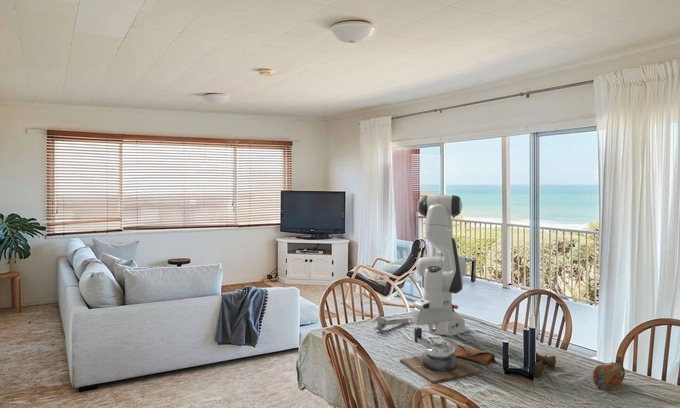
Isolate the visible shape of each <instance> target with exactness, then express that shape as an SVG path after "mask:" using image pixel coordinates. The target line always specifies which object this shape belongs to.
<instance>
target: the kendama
mask: <svg viewBox="0 0 680 408" xmlns="http://www.w3.org/2000/svg"><path fill="white" fill-rule="evenodd" d="M556 364H557V358H556V356H555V355H551V356H548V354H545V355H541V354H539V353H538V352H536V362H535V377H536V378H541V377H542V376H543V372H544V370H545V366H546V367H548V368H550V369H551V370H555V368H556Z"/></svg>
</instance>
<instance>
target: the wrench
mask: <svg viewBox="0 0 680 408" xmlns="http://www.w3.org/2000/svg"><path fill="white" fill-rule="evenodd" d="M371 322H372V323H375V322H377V324H376V325H374V326H373V329H374V330H376V331H379V332H382V331H383V329H384V328H385V327H387V326H392V325H405V324H410V322H411V323H413V321H412V317H410V316H405V317H399V318H397V317H396V318H389V319H385V318H383V317H381V316H380V315H374V317H372V319H371Z"/></svg>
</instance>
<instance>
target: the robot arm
mask: <svg viewBox="0 0 680 408" xmlns="http://www.w3.org/2000/svg"><path fill="white" fill-rule="evenodd" d="M417 210H418V213H419V214H420V215H421V216H424V217H425V225H424V228H425V229H424V231H425V238H426V240H427V241H428V242H429V243H430V244H431V245H430V246H432V248H434V249H436V251H439V252H441V253H442V256H433V255H432V256H424V257H420V258H419V259H418V260H417V261H416V264H415V269H416V272H417V274H418V275H419V276H420V277H421V287H422V288H423V289H424V290H423V297H420V299H417V300H415V301H414V302H413V306H414V308H413V310H412V317H411V318H412V323H413V324H414V325H416V326H424V325H426V326H427V327H426V331H427V332H429V333H430V334H434V335H440V336H441V335H442V336H451V337H452V336H456V335H459V334H462V333H463V334H464V333H467V332H470V327H468V326H467V325H466V322H465V319H464V317H462V316H461V315H460V314H459V313H458V312H456V310H458V309H459V305H458V304H453V303H452V301H453V299H452V298H453V297H452V296H453V294H455V295H457V294H458V293H460V292H461V291H462V290H463V288H464V279H463V277H464V276H465V275H466V274H467V271H468V270H467V269H468V265H467V262H466V261H465V259H464V258H462V257H461V256H460V255H459V253H458V248H457V243H456V240H455V238H454V237H453V221H452V219H455V217H458V216H459V215H460V214H461V212H462V210H463V202H462V199H461V198H460V196H459V195H455V194H452V195H449V194H436V195H433V194H432V195H424V196H420V198H419V200H418V202H417Z"/></svg>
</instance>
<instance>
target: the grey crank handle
mask: <svg viewBox="0 0 680 408" xmlns="http://www.w3.org/2000/svg"><path fill="white" fill-rule="evenodd" d="M422 331H423V329H422V328H421V327H415V328H414V340H413V341H414V343H416V344H420V345H421V346H424V347H425V352H426V355H427V356H428V357H429V358H432V359H436V360H448V359H451V358H452V357H453V353H454V346H453V345H450V344H447V342H446V341H442V342H440V343H437V342H436V341H430V340H429V339H426V338H425V337H423V335H422V333H423V332H422Z"/></svg>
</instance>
